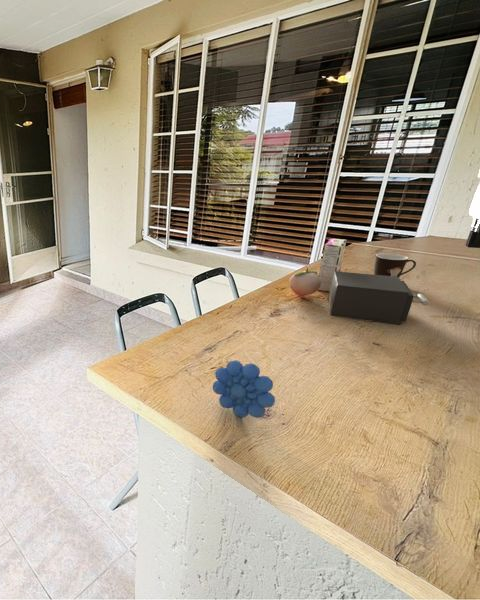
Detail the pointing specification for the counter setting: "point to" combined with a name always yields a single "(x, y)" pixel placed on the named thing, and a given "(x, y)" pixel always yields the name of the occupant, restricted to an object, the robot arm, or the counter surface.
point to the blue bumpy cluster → (243, 389)
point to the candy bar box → (331, 262)
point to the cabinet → (367, 297)
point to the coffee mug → (391, 265)
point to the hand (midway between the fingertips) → (474, 247)
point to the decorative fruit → (305, 282)
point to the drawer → (409, 302)
